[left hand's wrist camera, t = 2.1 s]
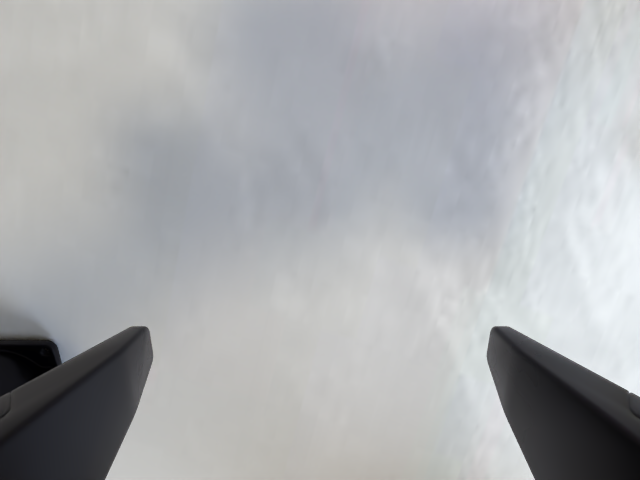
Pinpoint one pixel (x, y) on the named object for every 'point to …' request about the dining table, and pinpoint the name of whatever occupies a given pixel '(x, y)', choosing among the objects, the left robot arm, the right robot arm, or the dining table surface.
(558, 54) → the dining table surface
